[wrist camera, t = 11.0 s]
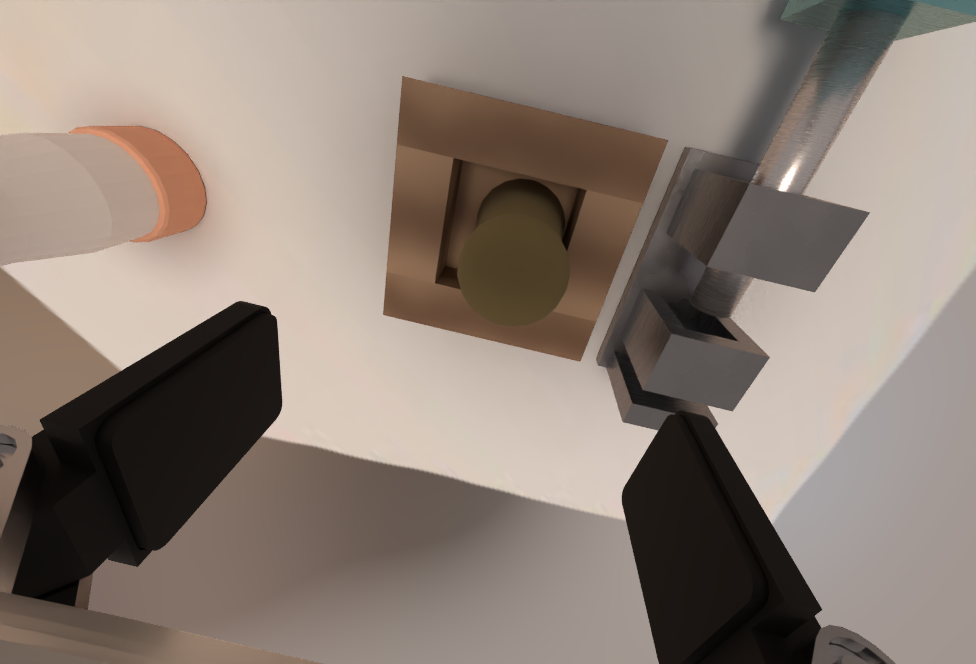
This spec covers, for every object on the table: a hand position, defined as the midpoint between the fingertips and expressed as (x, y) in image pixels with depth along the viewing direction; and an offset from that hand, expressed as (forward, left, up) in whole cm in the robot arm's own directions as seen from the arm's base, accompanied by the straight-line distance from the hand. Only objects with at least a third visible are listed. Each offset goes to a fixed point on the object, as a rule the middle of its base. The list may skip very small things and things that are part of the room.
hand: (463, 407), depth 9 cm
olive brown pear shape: (0, +1, -19) cm, 19 cm away
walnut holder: (0, 0, -20) cm, 20 cm away
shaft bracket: (+1, +13, -20) cm, 24 cm away
